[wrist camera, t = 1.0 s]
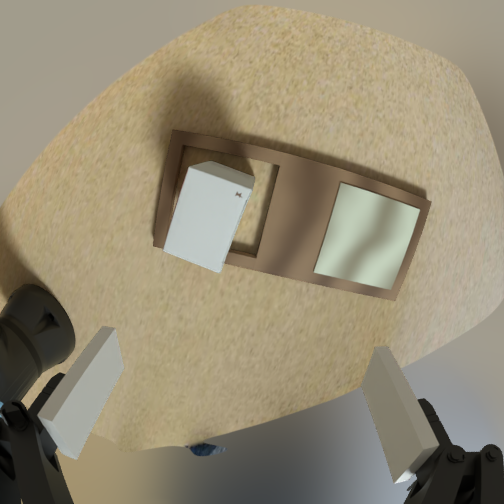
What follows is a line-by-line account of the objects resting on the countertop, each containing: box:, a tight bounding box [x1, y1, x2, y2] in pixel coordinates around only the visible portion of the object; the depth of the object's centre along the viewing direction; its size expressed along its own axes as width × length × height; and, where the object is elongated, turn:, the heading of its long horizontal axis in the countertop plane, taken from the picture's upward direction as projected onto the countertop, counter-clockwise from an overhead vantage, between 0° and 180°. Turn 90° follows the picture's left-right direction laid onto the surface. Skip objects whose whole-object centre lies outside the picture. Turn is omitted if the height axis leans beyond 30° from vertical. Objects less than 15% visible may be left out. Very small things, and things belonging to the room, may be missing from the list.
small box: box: [163, 161, 255, 273], centre depth 29 cm, size 8×6×10 cm
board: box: [153, 130, 431, 301], centre depth 33 cm, size 32×14×1 cm, turn 77°
